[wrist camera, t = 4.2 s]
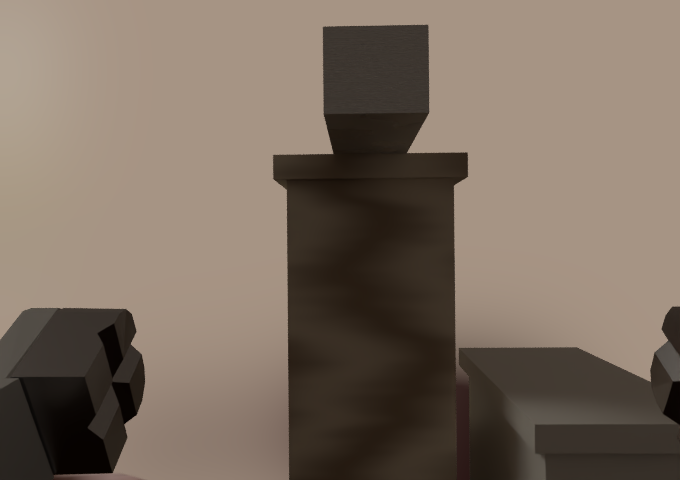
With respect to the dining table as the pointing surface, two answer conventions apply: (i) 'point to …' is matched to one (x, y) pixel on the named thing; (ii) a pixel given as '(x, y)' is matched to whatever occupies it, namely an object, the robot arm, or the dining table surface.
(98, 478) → the dining table surface
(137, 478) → the dining table surface
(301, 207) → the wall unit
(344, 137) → the bar
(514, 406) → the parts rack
